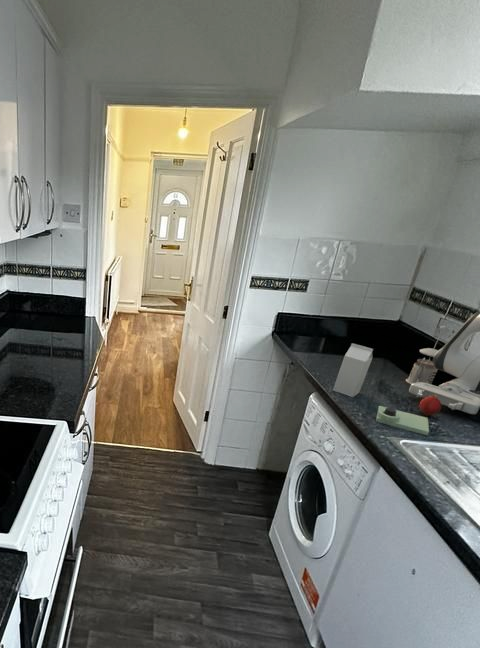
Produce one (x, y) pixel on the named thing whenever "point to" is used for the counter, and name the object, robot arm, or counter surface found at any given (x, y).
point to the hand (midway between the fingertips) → (434, 401)
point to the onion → (430, 405)
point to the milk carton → (353, 370)
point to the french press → (424, 366)
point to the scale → (404, 421)
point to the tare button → (390, 412)
